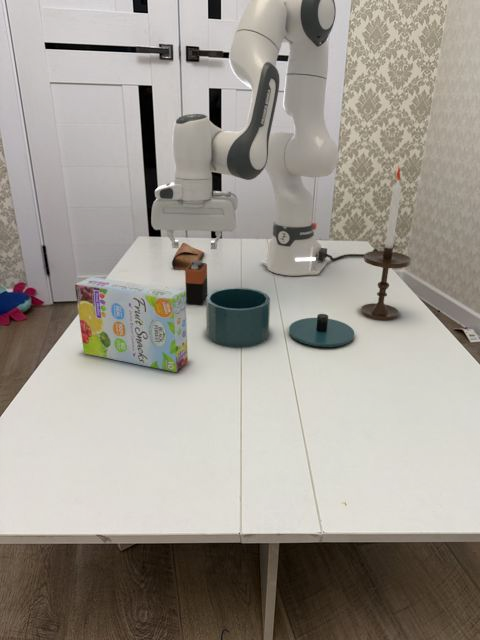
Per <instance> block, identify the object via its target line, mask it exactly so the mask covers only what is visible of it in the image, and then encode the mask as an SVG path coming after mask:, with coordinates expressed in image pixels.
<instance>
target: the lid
mask: <svg viewBox="0 0 480 640" xmlns="http://www.w3.org/2000/svg"><path fill="white" fill-rule="evenodd" d="M288 333H289V335H290V336H291V338H292V339H294V340H295V341H297V342H300V343H301V344H305V345H309V346H314V347H325V348H331V347H340V346H344V345H346V344H349V343H351V342H352V341H353V340H354V337H355V330H354V329H353V328H352V327H351V326H350V325H349V324H347V323H346V322H344V321H340V320H337V319H333V318H329V315H328V314H326V313H319V314H317V316H316V317H307V318H302V319H298V320H295V321H294V322H291V324H290V325H289V326H288Z"/></svg>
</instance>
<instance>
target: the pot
mask: <svg viewBox="0 0 480 640" xmlns="http://www.w3.org/2000/svg"><path fill="white" fill-rule="evenodd" d="M205 311H206V312H205V313H206V314H205V315H206V316H205V318H206V333H207V334H206V335H207V338H208V340H209V341H211V342H212V343H215V344H217V345H220V346H223V347H229V348H249V347H253V346H258V345H260V344H262V343H264V342H265V341H266V340H267V339H268V338H269V334H270V333H269V332H270V317H271V316H270V315H271V313H270V311H271V298H270V296H269V295H268V294H267V293H265V292H263V291H261V290H258V289H253V288H249V287H227V288H226V287H225V288H221V289H217V290H214V291H212V292H210V293H208V294H207V297H206V299H205Z"/></svg>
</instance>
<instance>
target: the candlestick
mask: <svg viewBox="0 0 480 640" xmlns="http://www.w3.org/2000/svg"><path fill="white" fill-rule="evenodd" d="M401 171H402V170H401V168H400V165H398V166H397V171H396V183H395V185H394V186H392V192H391V199H390V205H389V206H390V207H389V213H388V219H387V220H388V221H387V228H386V235H385V243H383V244H380V245H379V246H380V247H381V248H383V250H378V251H373V250H371V251H368V252H365V253H364V254H365V255H364V257H363V261H364V263H366V264H368V265H371V266H374V267H379V268H381V269H382V272H381V279H380V281H379V282H377V287H378V289H379V290H378V291H377V292H376V295H377V296H378V300H377V303H375V302H374V303H366V304H364V305H362V306H361V310H360V311H361V312H360V313H361V314H362V315H363V317H366V318H369V319H371V320H376V321H392V320H395V319H397V318H398V317H399V310H398V309H397V308H396V307H394V306H392V305H389V304H385V298H386V297H387V296H388V293H386V291H387V290H388V288H389V287H390V283H389V282H388V275H389V269H404V268H407V267H409V266H410V265H411V260H412V259H411V257H410V256H408V255H407V254H404V253H401V252H396V251H394V249H397V248H398V246H397V245H395V244H394V242H395V237H396V228H397V223H398V222H397V221H398V216H399V215H398V214H399V209H400V202H401V194H402V189H403V188H402V187H401V183H400V182H401V181H400V180H401Z"/></svg>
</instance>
